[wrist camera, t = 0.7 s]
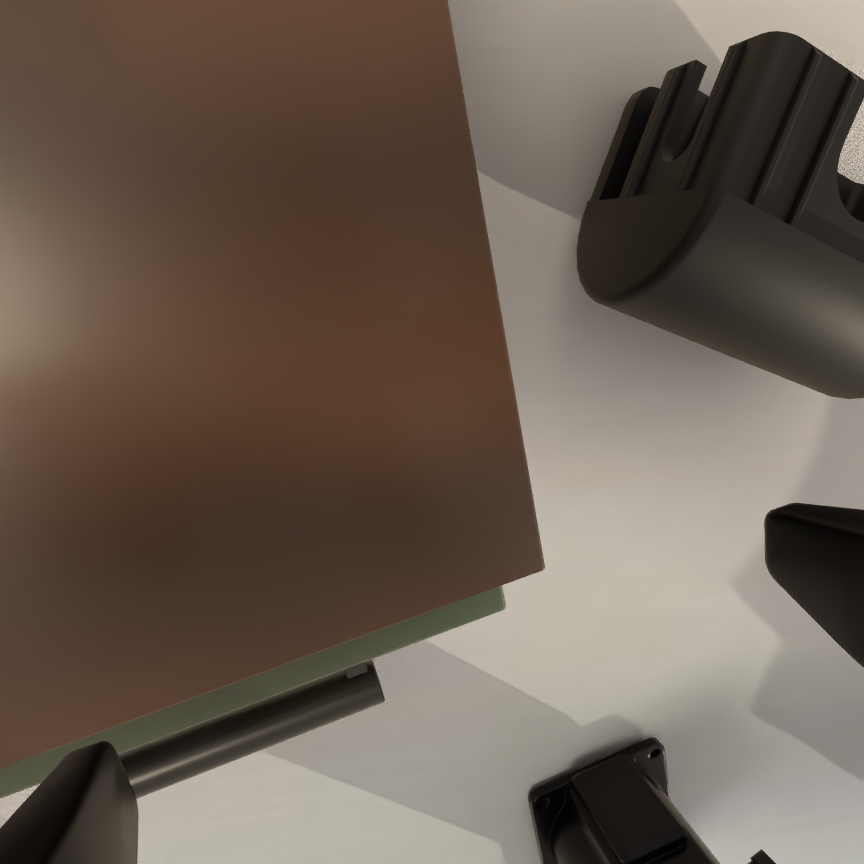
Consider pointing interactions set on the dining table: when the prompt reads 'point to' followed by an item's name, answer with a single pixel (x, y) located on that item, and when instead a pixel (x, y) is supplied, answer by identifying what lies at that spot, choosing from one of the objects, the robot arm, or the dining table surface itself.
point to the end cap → (739, 213)
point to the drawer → (255, 707)
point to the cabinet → (238, 349)
